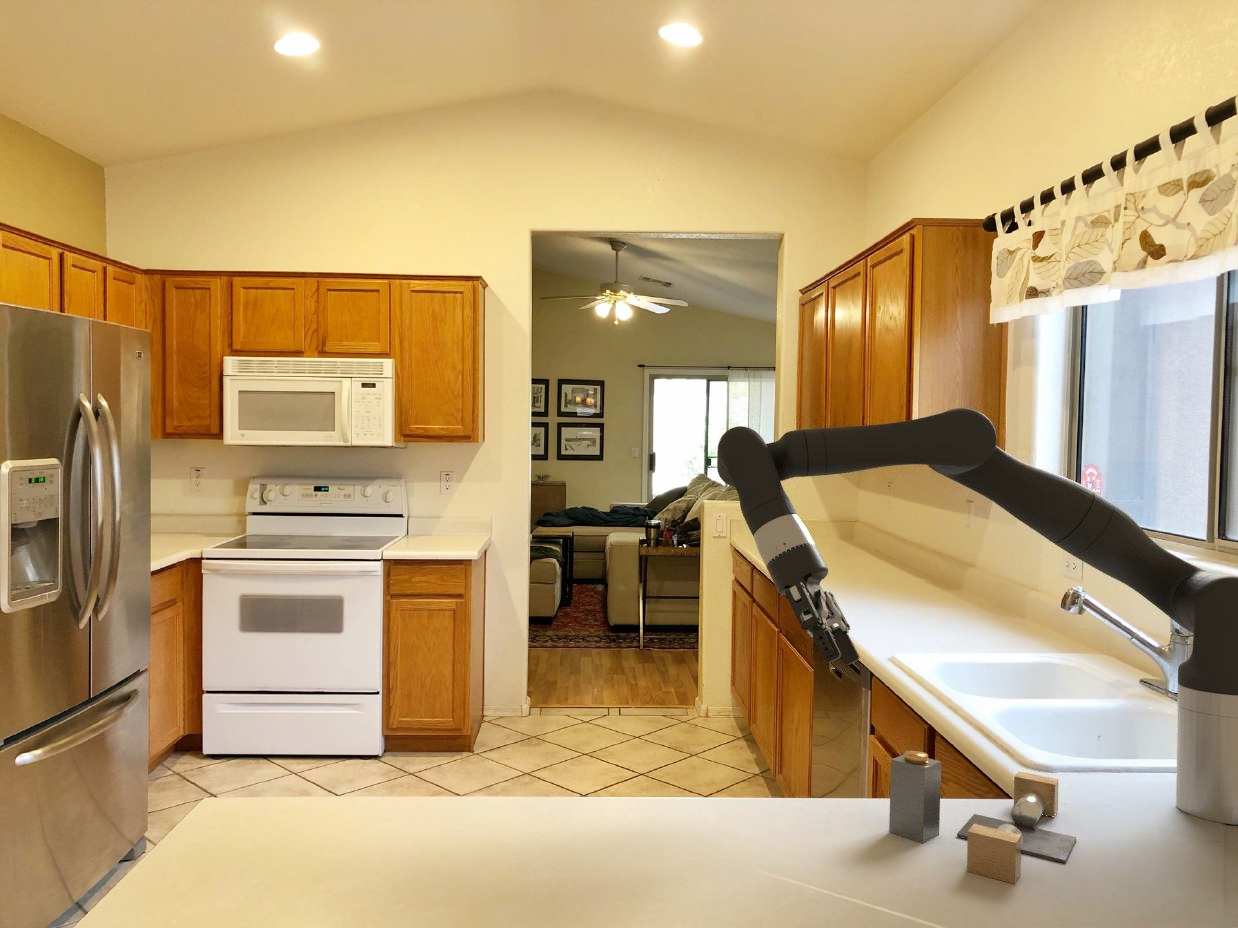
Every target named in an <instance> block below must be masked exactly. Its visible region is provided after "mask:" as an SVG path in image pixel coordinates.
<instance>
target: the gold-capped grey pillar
mask: <svg viewBox="0 0 1238 928" xmlns="http://www.w3.org/2000/svg"><path fill="white" fill-rule="evenodd" d="M941 773H942V761H940V760H936V759H933V758H929V754H927V753H926V752H923V751H918V750H905V751H904V754H902V755H898V756H896V757H894V758H891V759H890V786H889V787H890V788H889V789H890V791H889V793H890V794H889V820H888V821H889V824H888V826H889V827H888V833H889V834H892V835H895V836H899V837H901V838H904V839H907V840H911V841H914V842H917V843H918V844H921V845H922V844H925V843H927V842H928V841H930V839H931V840H933V839H934V838H936V837H938V836H939V835H940V822H941V821H940V820H941V819H940V815H941V813H940V812H941V781H942V780H941V779H942V778H941V777H942V776H941V775H942V774H941Z"/></svg>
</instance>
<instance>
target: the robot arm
mask: <svg viewBox="0 0 1238 928" xmlns="http://www.w3.org/2000/svg"><path fill="white" fill-rule="evenodd" d="M997 443H998V435H997V431H996V428H995V426H994V424H993V422H992V421H991V420H990V418H988V417H987V416H986V414H984V413H982V412H980V411H979V410H975V409H973V408H968V407H967V408H966V407H958V408H957V407H956V408H953V409H952V408H951V409H948V410H945V411H943V412H941V413H940V412H939V413H937V414H932V415H928V416H924V417H920V418H914V419H910V420H909V419H908V420H903V421H896V422H889V423H879V424H867V425H850V426H836V427H835V426H834V427H832V426H831V427H817V428H807V429H805V428H804V429H795V430H790V431H787V432H785V433H784V434H783V435H782V436H781V437H780V438H779V439H778V440H777V441H773V442H769V443H766V442H765V439H764V438H763V437H762V436H761V435H760V433H758V432H757V431H756V430H754V429H752V428H750V427H747V426H742V425H741V426H740V425H738V426H734V427H732V428H729V429H727V430H726V431H725V432H724V433H723V434H722V435H721V437H720V439H719V442H718V444H717V452H716V453H717V454H716V455H717V457H716V458H717V461H716V469H717V473H718V475H719V478H720V479H721V481H723V482H724V484H727V485H728V486H730V487H733V488H735V490H736V492H737V496H738V499H739V505H740V510H741V513H742V517H743V518H744V520H745V523H746V525H747V527H748V529H749V530H750V533H751V535H752V537H753V540H754V541H755V545H756V548H757V550H758V553H759V556H760V557H761V559H762V562H763V563H764V566H765V567H766V570H767V571H768V573H769V576H770V578H771V579H772V582H773V584H774V586H775V588H776V590H777V592H778V593H779V594H780V595H781V596H786V598H787V600H788V602H789V604H790V606H791V609H792V610H793V612H794V615H795V618H796V619H797V620H798V623H799V625H800V628H801V630H802V631H804V632H807V634H808V635H809V636H810V637H811V638H813V640H814V643H815V645H816V647H817V648H818V650H819V653H820V654H821V656H822V658H823V661H824V662H825V663H832V662H834V661H836V660H839V659H840V658H841V660H842V661H843V664H844V665H847V666H848V665H851V664H853V663H856V662H857V661H859V660H860V658H861V656H860V654H859V653H858V650H857V649H856V647H855V644H854V642H853V641H852V639H851V637H850V635H849V633H850V630H851V626H850V624H849V623H848V621H847V619H846V618H845V616H844V614H843V612H842V610H841V608H840V606H839V604H838V603H837V600H836V599H835V596H834V594H833V593H832V592H831V591H827V590H825V591H824V589H823V588H822V586H821V585H820V584H821V582H822V580H825V579H826V577H827V576H828V574H829V568H828V566H827V564H826V562H825V560H824V558H823V556H822V555H821V552H820V551H819V549H818V547H817V546H816V543H815V541H814V540H813V538H812V536H811V534H810V532H809V530H808V528H807V527H806V525H805V524H804V522H803V521H802V520H801V518H800V516H799V515H798V513H797V511H796V509H795V507H794V505H793V504H792V501H791V500H790V497H789V495H787V493H786V491H785V488H784V487H783V484H782V482H784V481H785V480H786V481H787V480H789V479H792V478H805V477H817V476H818V477H820V476H832V475H841V474H847V473H848V474H849V473H855V472H861V471H865V470H872V469H878V468H884V467H892V466H893V467H895V466H906V465H907V466H908V465H925V466H928V467H929V468H930V469H931V470H932V471H934V472H936V473H938V474H940V475H942V476H944V477H946V478H948V479H950V480H952V481H954V482H956V483H958V484H960V485H962V486H964V487H966V488H967V489H970V490H971V491H974V492H976V494H977V493H978V494H980V495H981V496H983V497H985V498H986V499H988V500H989V501H992V502H994V503H995V504H996V505H997V506H999V507H1000V508H1002V509H1003V510H1004V511H1006V512H1007V513H1009V514H1010V515H1011V516H1013V517H1014V518H1015V519H1017V520H1018V521H1020V522H1022V523H1023V524H1024V525H1026V526H1027V527H1029V528H1030V529H1032V530H1034V531H1035V532H1036V533H1037V534H1039V535H1041V536H1042V537H1043V538H1045V539H1046V540H1048V541H1049V542H1051V543H1052V544H1054V545H1056V546H1057V547H1058V548H1060V549H1062V550H1064V551H1065V552H1066V553H1068V554H1070V555H1072V556H1073V557H1075V558H1077V559H1078V560H1080V561H1082V562H1084V563H1085V564H1087V565H1089V566H1090V567H1092V568H1094V569H1095V570H1098V571H1099V572H1102V573H1103V574H1104V575H1106V576H1109V577H1110V578H1113V579H1114V580H1117V581H1118V582H1120V583H1121V584H1123V585H1126V586H1128V587H1129V588H1131V589H1132V590H1134V591H1135V592H1136V593H1138V594H1139V595H1140V596H1142V597H1143V598H1144V599H1146V600H1147V601H1148V602H1150V603H1151V604H1152V605H1154V606H1155V607H1156V608H1158V610H1160V611H1161V612H1162V613H1163V614H1165V615H1167V617H1169V618H1170V619H1171V620H1173V621H1174V622H1175V623H1176V624H1178V626H1180V627H1182V628H1183V629H1184V630H1185V631H1188V632H1191V633H1192V634H1193V639H1192V648H1191V649H1192V650H1191V653H1190V654H1191V655H1190V657H1188V659H1187V660H1185V661H1183V662H1181V663H1180V664H1179V665H1178V667H1177V703H1176V704H1177V714H1176V717H1177V724H1176V727H1177V729H1176V732H1177V733H1176V777H1175V778H1176V782H1175V783H1176V785H1175V787H1176V792H1175V797H1176V799H1175V805H1176V807H1177V809H1179V810H1180V811H1182V812H1184V813H1186V814H1188V815H1189V816H1193V817H1196V818H1198V819H1199V818H1200V819H1203V820H1206V821H1211V822H1216V823H1220V824H1227V825H1228V824H1229V825H1236V826H1238V575H1233V574H1225V573H1219V572H1216V573H1215V572H1212V571H1207V570H1205V569H1203V568H1200V567H1198V566H1196V565H1193V564H1191V563H1189V562H1188V561H1185V560H1184V559H1182V558H1180V557H1178V556H1176V555H1174V554H1173V553H1171V552H1169V551H1168V550H1166V549H1165V548H1163V547H1161V546H1160V545H1159V544H1158V543H1156V542H1155V541H1154V540H1153V539H1152V538H1151V537H1150V536H1149V535H1148V534H1147V533H1146V531H1144V530H1143V528H1141V526H1140V525H1139V524H1138V523H1137V522H1136V521H1135V520H1134V519H1133V518H1132V517H1131V516H1130V515H1129V514H1128V513H1127V512H1125V511H1124V510H1122V509H1121V508H1120V507H1118V506H1117V505H1115V504H1114V503H1113V502H1111V501H1109V500H1108V499H1106V498H1105V497H1103V496H1102V495H1100V494H1098V493H1097V492H1095V491H1093V490H1092V489H1090V488H1089V487H1086V486H1085V485H1083V484H1081V483H1079V482H1076V481H1074V480H1072V479H1070V478H1067V477H1065V476H1063V475H1059V474H1057V473H1054V472H1051V471H1048V470H1045V469H1042V468H1040V467H1037V466H1033V465H1032V464H1029V463H1026V462H1024V461H1022V460H1019V459H1018V458H1016V457H1014V456H1012V455H1011V454H1009V453H1008V452H1006V451H1004V450H1003V449H1002V448H1000V447H999V446H998V445H997ZM836 624H837V626H834V625H836Z"/></svg>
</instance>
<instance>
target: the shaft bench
mask: <svg viewBox="0 0 1238 928" xmlns="http://www.w3.org/2000/svg"><path fill="white" fill-rule="evenodd" d="M1013 781H1014V782H1013V785H1014V786H1013V807H1012V809H1011V815H1010V816H1011V819H1012V822H1011V821H1008V820H1003V819H999V818H994V817H991V816H986V815H981V814H977V813H974V814H973V815H972V816H971V817H970V818H969V819H968V820H967V821H966V823H965V824H964V825H963V826H962V828H960V829H959V831H958V832H957V833H956V837H957V836H958V837H957V838H960V837H964V838H966V839H965V840H967V842H966V843H967V849H966V851H967V853H966V872H968V873H972V874H974V875H975V874H976V875H980V876H984V877H987V878H991V879H994V880H998V881H1002V882H1005V883H1010V884H1013V885H1016V884H1017V882H1018V880H1019V878H1020V877H1021V871H1022V870H1021V867H1022V854H1024V855H1029V856H1033V857H1036V858H1042V859H1044V860H1048V861H1052V862H1056V863H1057V862H1058V863H1061V864H1066V862H1067V861H1068V859H1069V857H1070V855H1071V852H1072V850H1073V848H1074V846H1075V844H1076V843H1077V836H1072V835H1070V834H1069V835H1068V834H1064V833H1059V832H1054V831H1050V830H1045V829H1043V828H1042V829H1041V828H1037V827H1035V825H1036V824H1037V823H1038V821H1039V820H1040V818H1041V816H1043V815H1047V816H1055V814H1056V813H1057V811H1058V812H1059V779H1058V778H1054V777H1049V776H1045V775H1038V774H1034V773H1028V772H1024V771H1017V773H1016V774H1015V775H1014V778H1013ZM1042 814H1043V815H1042ZM1057 814H1058V813H1057ZM1057 814H1056V815H1057ZM1047 816H1046V817H1047ZM1055 817H1056V816H1055ZM964 838H963V839H964Z"/></svg>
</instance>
